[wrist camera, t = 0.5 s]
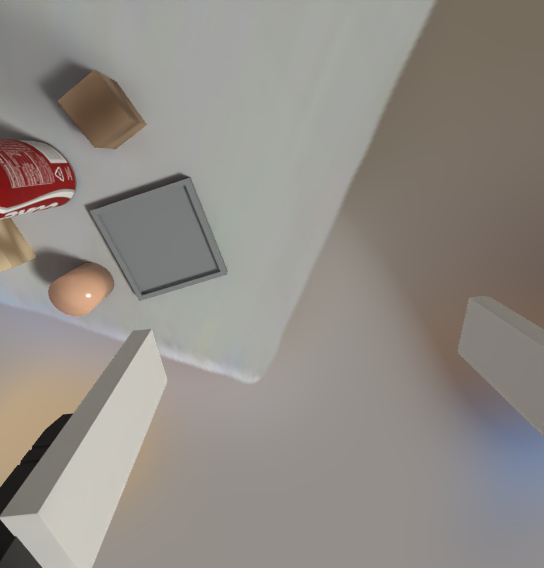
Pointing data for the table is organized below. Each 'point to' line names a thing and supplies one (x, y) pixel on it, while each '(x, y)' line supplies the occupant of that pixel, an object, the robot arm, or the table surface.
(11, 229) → the oak block
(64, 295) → the peach rounded capsule part
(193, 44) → the table surface
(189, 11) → the table surface
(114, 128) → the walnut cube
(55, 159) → the soda can
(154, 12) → the table surface
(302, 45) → the table surface
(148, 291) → the tray
